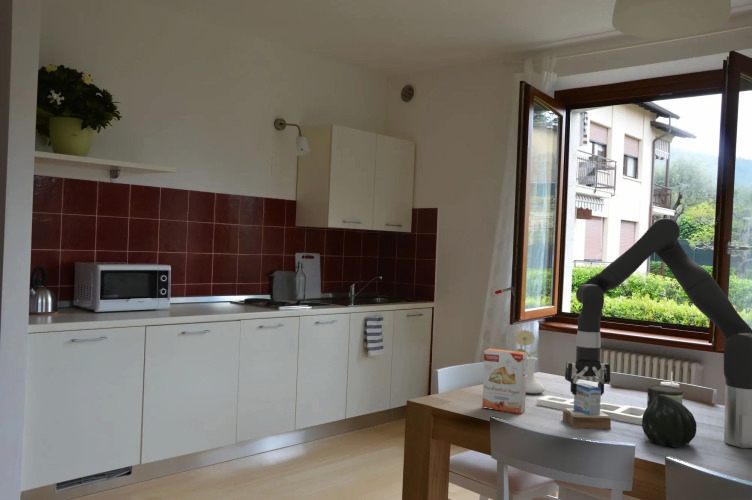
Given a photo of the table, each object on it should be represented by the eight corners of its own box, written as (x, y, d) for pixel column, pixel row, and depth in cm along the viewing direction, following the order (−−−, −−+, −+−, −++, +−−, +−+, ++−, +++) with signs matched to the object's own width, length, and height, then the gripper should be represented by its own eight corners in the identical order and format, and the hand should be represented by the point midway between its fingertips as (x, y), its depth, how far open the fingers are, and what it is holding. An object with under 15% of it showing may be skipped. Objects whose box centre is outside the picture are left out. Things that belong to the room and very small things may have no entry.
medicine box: (573, 409, 208) (573, 383, 208) (583, 408, 209) (584, 382, 210) (589, 415, 200) (590, 388, 201) (600, 414, 202) (601, 387, 202)
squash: (716, 431, 181) (684, 385, 189) (684, 439, 173) (652, 391, 182) (682, 453, 190) (653, 408, 199) (650, 461, 183) (621, 415, 191)
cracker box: (481, 408, 221) (483, 349, 221) (486, 405, 227) (488, 347, 227) (521, 414, 215) (522, 353, 215) (525, 411, 220) (527, 351, 220)
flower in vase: (548, 392, 254) (550, 330, 254) (539, 397, 244) (541, 332, 244) (517, 387, 261) (519, 327, 261) (507, 392, 251) (509, 329, 251)
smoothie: (680, 412, 226) (682, 373, 226) (661, 411, 227) (663, 372, 227) (676, 408, 232) (677, 370, 232) (657, 407, 234) (658, 369, 234)
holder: (536, 406, 231) (536, 398, 231) (557, 398, 245) (557, 391, 245) (666, 431, 202) (666, 422, 202) (681, 421, 216) (681, 413, 216)
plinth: (610, 428, 200) (610, 416, 200) (573, 428, 200) (574, 415, 200) (598, 420, 210) (598, 408, 210) (562, 419, 210) (563, 407, 210)
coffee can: (641, 432, 197) (643, 387, 197) (651, 426, 205) (652, 383, 205) (677, 439, 190) (678, 393, 190) (685, 433, 198) (686, 388, 198)
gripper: (571, 346, 201) (569, 396, 201) (614, 347, 202) (613, 397, 201) (563, 343, 208) (561, 392, 208) (605, 344, 209) (603, 392, 209)
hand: (587, 394), depth 205 cm, fingers open, 8 cm apart
